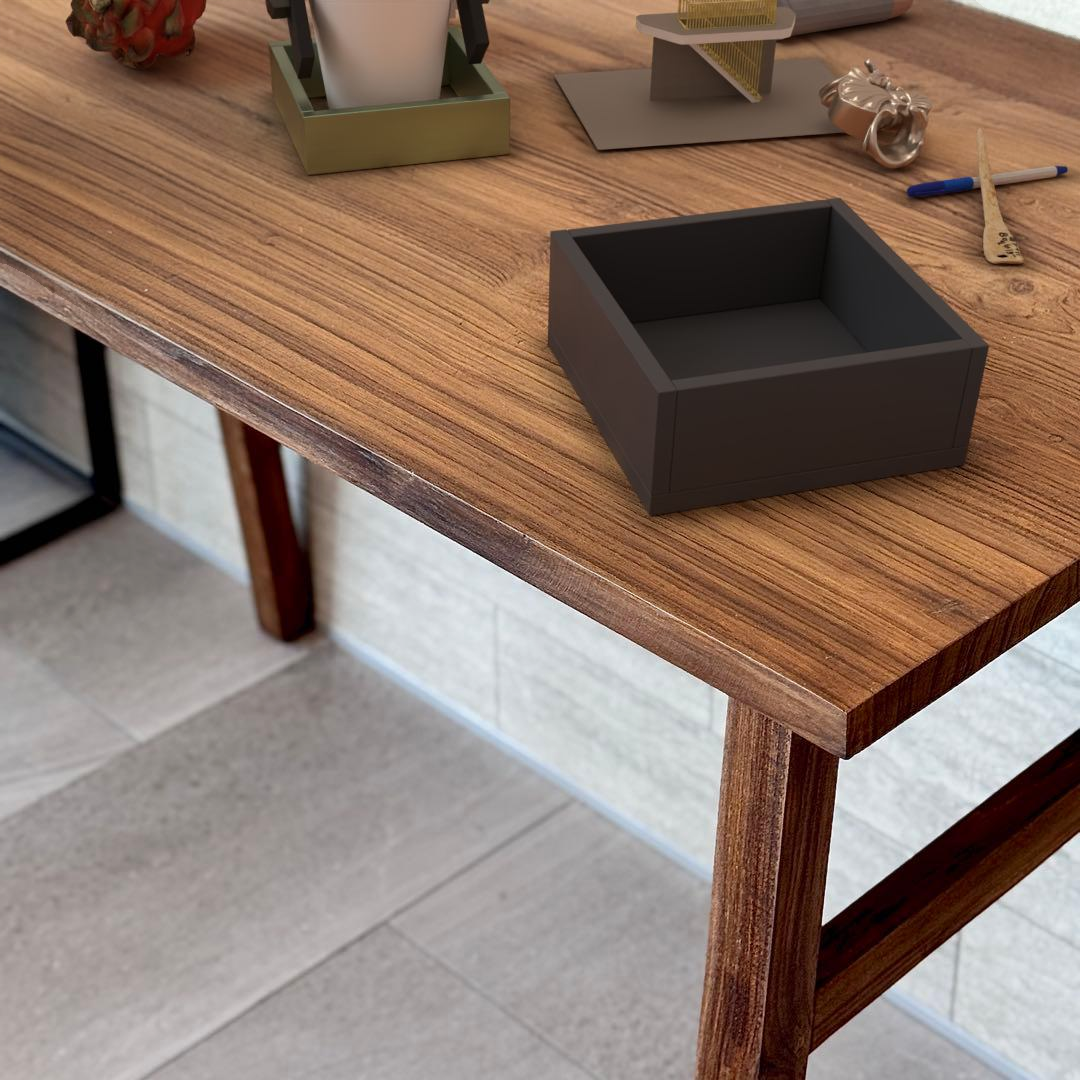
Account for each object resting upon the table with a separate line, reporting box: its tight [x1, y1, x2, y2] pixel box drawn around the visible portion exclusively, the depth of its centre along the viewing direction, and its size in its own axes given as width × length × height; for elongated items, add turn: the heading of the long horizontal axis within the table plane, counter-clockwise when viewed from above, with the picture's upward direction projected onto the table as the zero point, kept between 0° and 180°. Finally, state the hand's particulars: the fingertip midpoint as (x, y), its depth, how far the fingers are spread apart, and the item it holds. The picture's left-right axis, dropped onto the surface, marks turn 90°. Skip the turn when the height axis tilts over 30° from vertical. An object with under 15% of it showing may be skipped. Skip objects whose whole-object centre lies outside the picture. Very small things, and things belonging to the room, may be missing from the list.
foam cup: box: [308, 0, 452, 110], centre depth 97 cm, size 10×9×13 cm
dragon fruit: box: [64, 0, 207, 71], centre depth 107 cm, size 8×8×12 cm
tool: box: [976, 127, 1025, 265], centre depth 93 cm, size 14×1×2 cm
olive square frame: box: [267, 25, 511, 176], centre depth 100 cm, size 12×12×4 cm
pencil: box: [763, 0, 914, 42], centre depth 116 cm, size 11×3×3 cm, turn 119°
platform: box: [553, 0, 845, 151], centre depth 103 cm, size 12×18×7 cm, turn 102°
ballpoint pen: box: [906, 165, 1069, 198], centre depth 96 cm, size 10×1×1 cm
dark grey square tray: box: [547, 197, 990, 517], centre depth 75 cm, size 15×15×6 cm
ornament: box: [819, 57, 933, 169], centre depth 99 cm, size 8×7×4 cm
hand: (393, 60), depth 96 cm, fingers closed on foam cup, 9 cm apart
